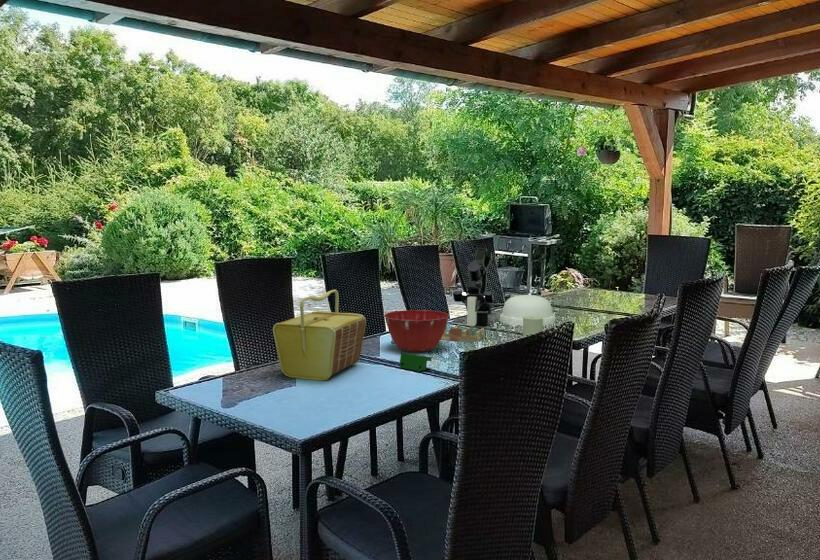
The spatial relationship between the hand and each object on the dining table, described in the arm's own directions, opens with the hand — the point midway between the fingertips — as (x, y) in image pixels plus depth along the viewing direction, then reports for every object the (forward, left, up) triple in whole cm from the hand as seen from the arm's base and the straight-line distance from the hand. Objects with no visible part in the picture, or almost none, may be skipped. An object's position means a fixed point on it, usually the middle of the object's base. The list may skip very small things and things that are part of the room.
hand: (471, 311), depth 293 cm
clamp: (+31, -49, -14) cm, 60 cm away
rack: (-5, -3, -14) cm, 15 cm away
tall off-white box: (-1, +1, -7) cm, 7 cm away
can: (+20, +20, -14) cm, 32 cm away
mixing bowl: (+3, -32, -14) cm, 35 cm away
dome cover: (-22, +54, -14) cm, 60 cm away
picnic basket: (+15, -82, -14) cm, 84 cm away
